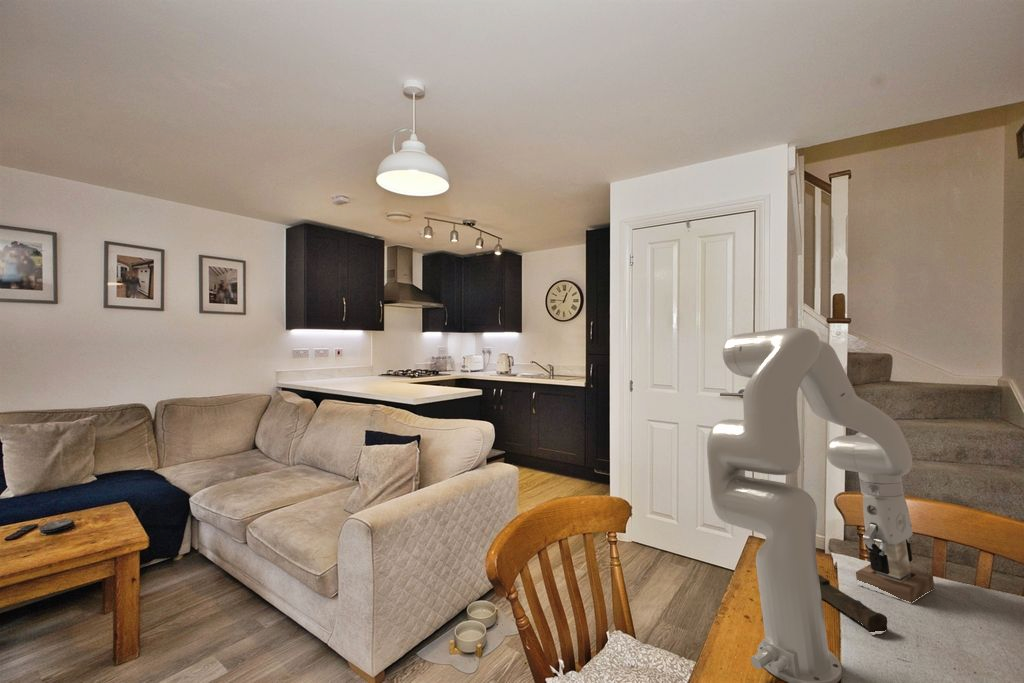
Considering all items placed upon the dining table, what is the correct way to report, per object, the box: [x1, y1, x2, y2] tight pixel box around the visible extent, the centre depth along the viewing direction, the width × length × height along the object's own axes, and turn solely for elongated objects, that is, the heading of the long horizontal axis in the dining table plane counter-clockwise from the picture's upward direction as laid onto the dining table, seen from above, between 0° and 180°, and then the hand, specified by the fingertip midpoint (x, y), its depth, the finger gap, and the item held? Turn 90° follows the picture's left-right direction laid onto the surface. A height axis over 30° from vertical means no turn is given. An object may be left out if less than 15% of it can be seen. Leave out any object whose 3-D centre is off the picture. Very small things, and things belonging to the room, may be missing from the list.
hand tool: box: [818, 573, 888, 633], centre depth 95 cm, size 19×4×5 cm, turn 2°
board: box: [855, 563, 936, 603], centre depth 100 cm, size 10×10×3 cm
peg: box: [875, 537, 911, 583], centre depth 101 cm, size 5×5×12 cm
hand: (892, 565), depth 101 cm, fingers open, 9 cm apart
